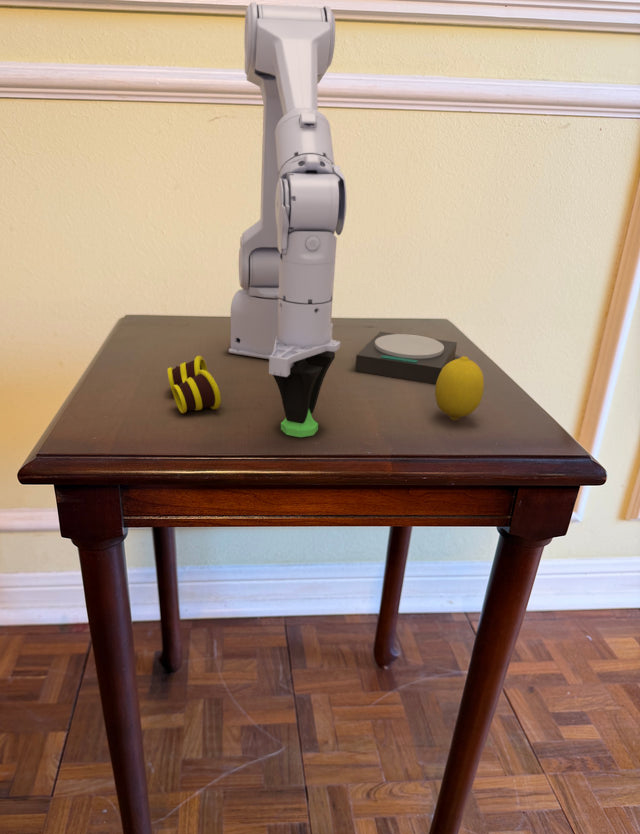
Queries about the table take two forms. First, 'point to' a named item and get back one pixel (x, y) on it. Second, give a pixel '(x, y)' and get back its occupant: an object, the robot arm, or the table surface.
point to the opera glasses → (193, 386)
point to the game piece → (300, 427)
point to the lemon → (459, 388)
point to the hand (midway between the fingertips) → (299, 416)
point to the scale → (405, 356)
